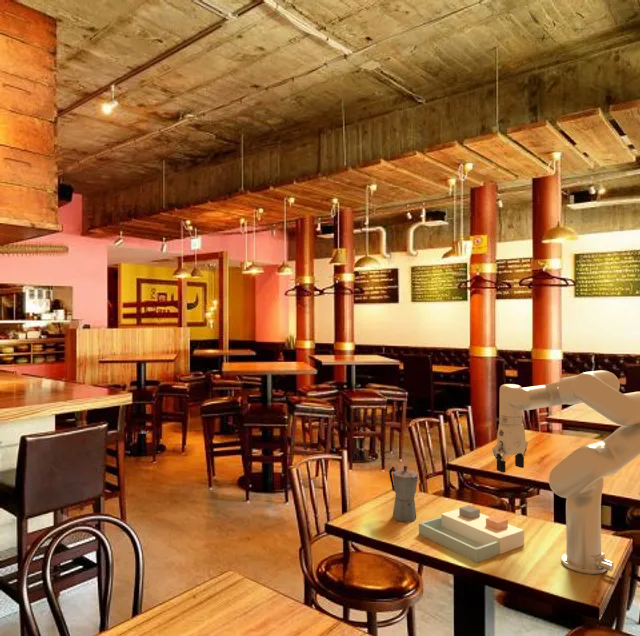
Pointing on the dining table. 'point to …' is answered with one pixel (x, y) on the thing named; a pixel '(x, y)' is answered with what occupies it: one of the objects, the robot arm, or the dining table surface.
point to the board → (483, 531)
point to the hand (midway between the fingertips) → (510, 469)
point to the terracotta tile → (496, 522)
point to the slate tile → (469, 512)
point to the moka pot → (404, 493)
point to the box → (457, 541)
